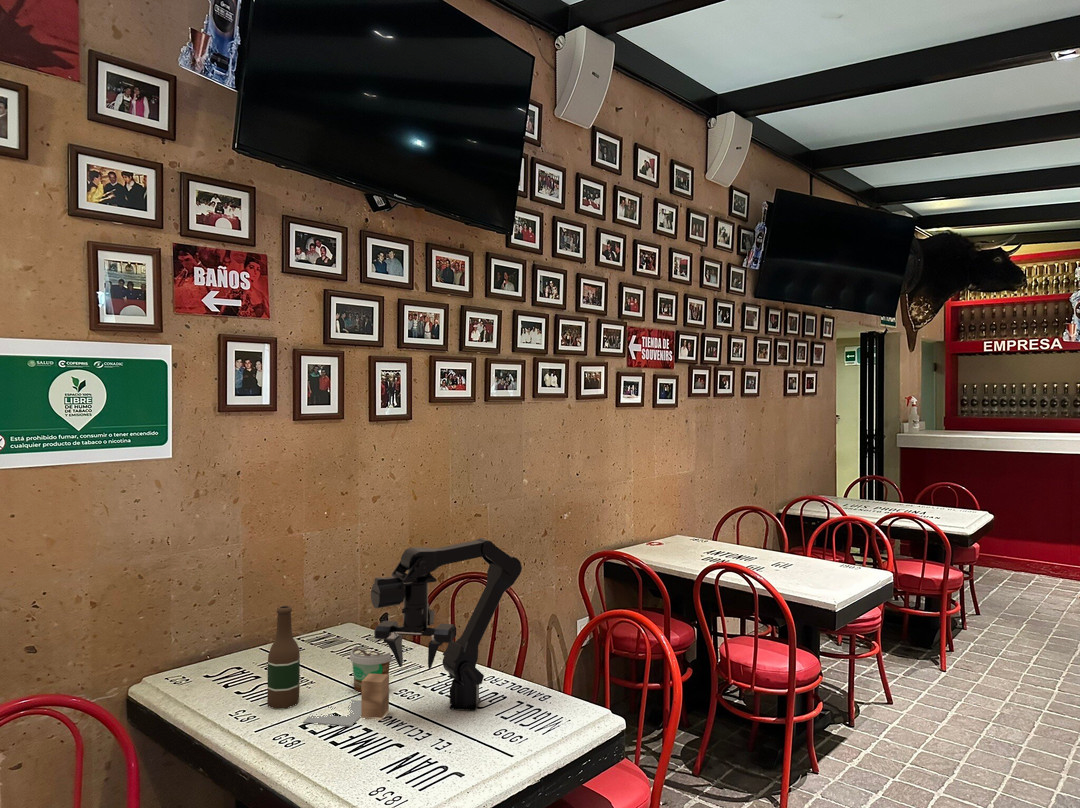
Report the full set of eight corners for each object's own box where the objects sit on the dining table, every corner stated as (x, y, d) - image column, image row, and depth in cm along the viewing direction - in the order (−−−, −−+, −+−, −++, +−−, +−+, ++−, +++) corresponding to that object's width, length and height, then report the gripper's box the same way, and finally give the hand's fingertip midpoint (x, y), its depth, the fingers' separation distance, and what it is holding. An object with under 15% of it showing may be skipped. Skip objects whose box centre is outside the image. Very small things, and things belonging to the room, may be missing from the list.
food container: (339, 690, 191) (339, 651, 191) (355, 682, 196) (355, 645, 196) (376, 699, 185) (376, 659, 185) (391, 691, 191) (392, 652, 191)
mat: (373, 702, 183) (373, 701, 183) (351, 726, 169) (351, 725, 169) (328, 699, 185) (328, 698, 185) (302, 723, 171) (302, 721, 171)
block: (388, 711, 178) (389, 674, 178) (381, 720, 173) (381, 682, 173) (369, 710, 179) (369, 673, 179) (361, 718, 174) (361, 680, 174)
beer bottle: (289, 711, 178) (290, 612, 178) (260, 708, 179) (261, 610, 179) (305, 698, 185) (306, 603, 185) (278, 695, 187) (278, 601, 187)
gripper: (462, 595, 181) (462, 658, 181) (390, 591, 184) (389, 653, 184) (450, 607, 170) (449, 674, 170) (373, 603, 173) (373, 669, 173)
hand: (415, 667), depth 174 cm, fingers open, 7 cm apart
